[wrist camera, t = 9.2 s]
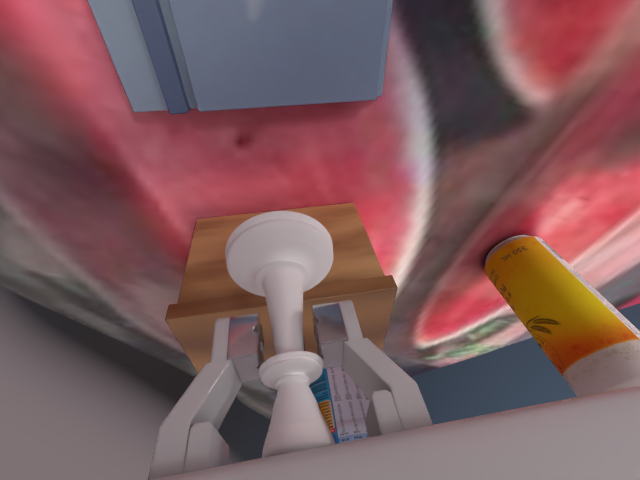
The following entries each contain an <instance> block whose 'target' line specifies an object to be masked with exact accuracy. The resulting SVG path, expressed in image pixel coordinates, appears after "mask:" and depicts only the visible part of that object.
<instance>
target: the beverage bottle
mask: <svg viewBox="0 0 640 480" xmlns="http://www.w3.org/2000/svg"><path fill="white" fill-rule="evenodd" d="M309 387H310V389H311V391H312V393H313V395H314V397H315V399H316V401H317V403H318V406H319V409H320V411H321V414H322V416H323V418H324V420H325V422H326V423H327V425H328V427H329V429H330V431H331V433H332V436H333V438H334V441H335V444H337V443H343V442H348V441H353V440H358V439H363V438H368V433H367V429H366V425H365V419H366V415H367V411H368V407H369V403H370V400H369V399H368V397H367V396H366V395H365V394H364V393H363V391H362V390H361V389H360V388H359V387H358V386H357V384H356V383H355V382H354V381H353V380H352V378H351V377H350V376H349V375H348V374H347V372H346V371H345V370H344V369H343V368H342V366H341V367H334V368H327V369H323V371H322V374H321V376H320V377H319V378H318V379H317V380H316V381H314V382H313V383H311V384H310V385H309Z"/></svg>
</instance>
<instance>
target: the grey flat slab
mask: <svg viewBox="0 0 640 480" xmlns="http://www.w3.org/2000/svg"><path fill="white" fill-rule="evenodd" d="M87 1H88V3H89V5H90V8H91V10H92V13H93V15H94V17H95V20H96V22H97V25H98V27H99V30H100V32H101V34H102V37H103V39H104V42H105V44H106V47H107V49H108V51H109V54H110V56H111V59H112V61H113V63H114V66H115V68H116V71H117V73H118V76H119V78H120V80H121V83H122V85H123V88H124V90H125V93H126V95H127V97H128V100H129V102H130V105H131V107H132V109H133V112H149V111H164V110H168V111H169V113H170V114H183V113H189V110H190V109H194V108H198V111H199V112H204V111H219V110H233V109H248V108H263V107H278V106H293V105H308V104H323V103H338V102H353V101H367V100H376V99H377V96H382V91H383V82H384V74H385V65H386V56H387V48H388V39H389V31H390V22H391V14H392V5H393V0H87Z"/></svg>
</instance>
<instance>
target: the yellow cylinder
mask: <svg viewBox="0 0 640 480" xmlns="http://www.w3.org/2000/svg"><path fill="white" fill-rule="evenodd" d="M485 264H486V265H485V273H486V275H487V276H488V278H489V279H490V280H491V282H492V283H493V284H494V286H495V287H496V288H497V290H498V291H499V292H500V294H501V295H502V296H503V298H504V299H505V300H506V302H507V303H508V304H509V306H510V307H511V308H512V310H513V311H514V312H515V314H516V315H517V316H518V318H519V319H520V320H521V322H522V323H523V324H524V326H525V327H526V328H527V330H528V331H529V332H530V334H531V335H532V336H533V338H534V339H535V340H536V342H537V343H538V344H539V345H540V347H541V348H542V350H543V351H544V352H545V354H546V355H547V356H548V357H549V359H550V360H551V361H552V363H553V364H554V365H555V367H556V368H557V369H558V371H559V372H560V373H561V375H562V376H563V377H564V379H565V380H566V381H567V383H568V384H569V385H570V387H571V388H572V389H573V391H574V392H575V393H576V395H577V396H578V397H581V396H586V395H591V394H596V393H602V392H607V391H612V390H617V389H622V388H628V387H636V386H640V331H639V330H637V328H635V326H633V325H632V324H631V323H630V322H629V321H628V320H627V319H626V318H625V317H624V316H623V315H622V314H621V313H620V312H619V311H618V310H617V309H616V308H614V307H613V306H612V305H611V304H610V303H609V302H608V301H607V300H606V299H605V298H604V297H603V296H602V295H601V294H600V293H599V292H598V291H597V290H595V289H594V288H593V287H592V286H591V285H590V284H589V283H588V282H587V281H586V280H585V279H584V278H583V277H582V276H581V275H580V274H579V273H578V272H576V271H575V270H574V269H573V268H572V267H571V266H570V265H569V264H568V263H567V262H566V261H565V260H564V259H563V258H562V257H561V256H560V255H559V254H557V253H556V252H555V251H554V250H553V249H552V248H551V247H550V246H549V245H548V244H547V243H546V242H545V241H544V240H543V239H541V238H539V237H536V236H528V235H517V236H513V237H510V238H508V239H506V240H504V241H502V242H501V243H499V244H498V245H496V246H495V247H494V248H493V249H492V250H491V251H490V252H489V254H488V255H487V257H486V261H485Z"/></svg>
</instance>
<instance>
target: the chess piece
mask: <svg viewBox="0 0 640 480" xmlns="http://www.w3.org/2000/svg"><path fill="white" fill-rule="evenodd" d="M225 257H226V265H227V270H228V272H229V275H230V276H231V278H232V279H233V281H234V282H235V283H236V284H237V285H239V286H240V287H241V288H243V289H244V290H246V291H248V292H250V293H253V294H256V295H259V296H264V297H266V302H267V307H268V312H269V317H270V322H271V328H272V333H273V339H274V346H275V351H276V355H275V356H273V357H271V358H269V359H267V360H266V361H265V362H263V363H262V365H261V366H260V368H259V375H260V377H261V381H262V383H263V384H264V385H266V386H267V387H270V388H273V389H276V390H278V393H277V396H276V399H275V403H274V406H273V411H272V418H271V423H270V426H269V430H268V433H267V436H266V440H265V444H264V448H263V454H262V458H265V457H270V456H275V455H280V454H286V453H291V452H296V451H301V450H306V449H312V448H317V447H322V446H327V445H332V444H335V441H334V438H333V436H332V433H331V431H330V429H329V427H328V425H327V423H326V422H325V420H324V418H323V416H322V414H321V411H320V409H319V406H318V403H317V401H316V399H315V397H314V395H313V393H312V391H311V389H310V387H309V385H310V384H311V383H313V382H314V381H316V380H317V379H318V378H319V377H320V376H321V374H322V371H323V369H322V368H323V360H322V358H321V357H320V356H318V355H317V354H315V353H312V352H308V351H304V338H303V292H305V291H307V290H309V289H311V288H313V287H314V286H316V285H317V284H318V283H320V282H321V281H322V280H323V279H324V278H325V277H326V275H327V274H328V272H329V271H330V269H331V266H332V263H333V243H332V239H331V236H330V234H329V232H328V231H327V229H326V228H325V227H324V226H323V225H322V224H321V223H320V222H318V221H317V220H315V219H314V218H312V217H310V216H308V215H305V214H302V213H298V212H292V211H272V212H267V213H263V214H259V215H257V216H254V217H252V218H250V219H248V220H246V221H245V222H243V223H242V224H240V225H239V226H238V227H237V228H236V229H235V230H234V231H233V233H232V234H231V235H230V237H229V239H228V241H227V244H226V248H225Z"/></svg>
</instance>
